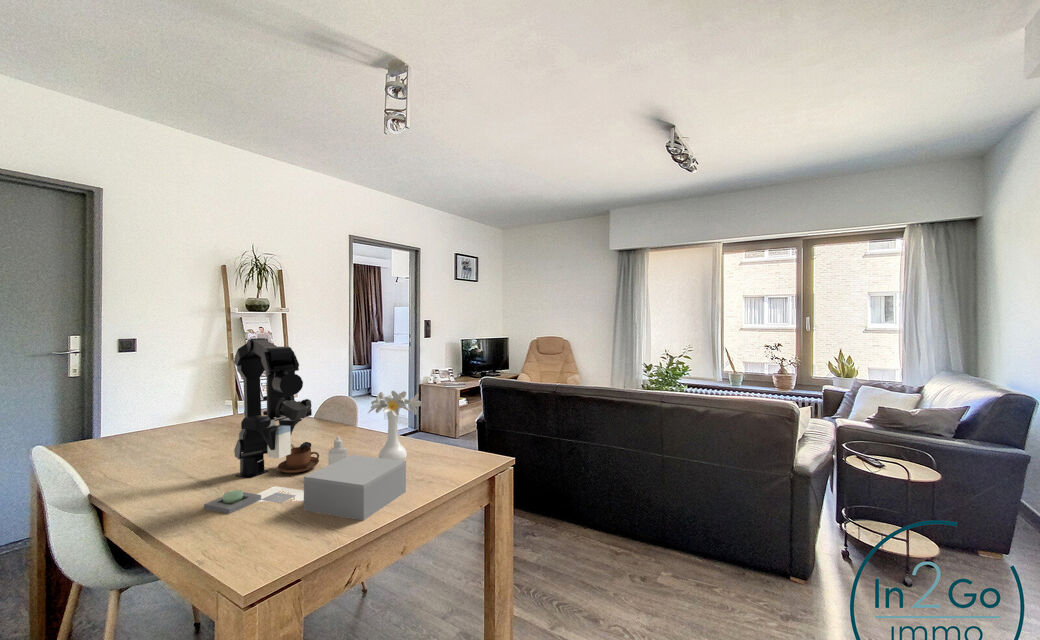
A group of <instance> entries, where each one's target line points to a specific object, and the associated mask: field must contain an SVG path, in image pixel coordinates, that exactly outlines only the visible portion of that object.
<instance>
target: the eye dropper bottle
mask: <svg viewBox="0 0 1040 640" xmlns="http://www.w3.org/2000/svg"><path fill="white" fill-rule="evenodd" d="M333 444H334V445H333V447H332V448H331V449H329V450H328V463H327V464H328V465H331V464H333V463H335V462H337V461H340V460H342V459H344V458H346V457H348V456H349V455H348V454H349V453H348V452H349V451H348V450H349V449H348V448H346V447H345V446H344V447H343V440H342V439H341V438H340V435H337V436H336V439H335V440H333ZM328 465H327V466H328Z"/></svg>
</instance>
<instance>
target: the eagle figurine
mask: <svg viewBox="0 0 1040 640" xmlns="http://www.w3.org/2000/svg"><path fill="white" fill-rule="evenodd" d="M291 447H292V448H296V447H297V446H296V445H294V444H292V443H291ZM299 447H300V454H301V453H302V450H303V448H304V447H310V448H312V443H311V442H309V441H304V442H302V443H301V444H300V445H299ZM292 448H291V449H292Z"/></svg>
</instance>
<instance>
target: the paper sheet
mask: <svg viewBox="0 0 1040 640" xmlns="http://www.w3.org/2000/svg"><path fill="white" fill-rule="evenodd" d="M282 489H283V490H282ZM279 491H281V492H282V491H284V492H286V493H285V494H284V492H283V493H281V492H280V493H278V492H279ZM288 492H289V494H287V493H288ZM290 493H291V495H290ZM257 494H258V495H261V500H259V501H257V502H256V503H259V502H260V503H261V502H262V503H263V502H271V503H277V502H278V503H279V504H282V503H284V502H287V501H286V500H288V499H290V498H291V499H293V498H292V497H295V500H292V501H291V502H297V501H298V502H300V501H301V502H304V489H303V490H302V489H298V488H297V489H296V488H289V487H283V486H279V485H278V486H276V485H274V486H272V487H270V488H267V489H266V490H263V491H261V492H259V493H257ZM278 496H279V497H278ZM281 497H282V498H281ZM296 500H297V501H296ZM279 501H280V502H279ZM278 503H277V504H278Z"/></svg>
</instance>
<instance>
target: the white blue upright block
mask: <svg viewBox="0 0 1040 640" xmlns="http://www.w3.org/2000/svg"><path fill="white" fill-rule="evenodd" d="M277 426H279V427H278V428H277V430H276V432H275V449H274V450H270V448H269V446H268V445H267V446H268V454H267V458H270V459H271V458H273V459H281V458H283V457H286V456H287V455H289V454H291V449H292V448H291V444H292V443H291V442H292V441H291V439H292V438H291V436H292V434H291V428H290V426H288V425H279V424H278V425H277Z"/></svg>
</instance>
